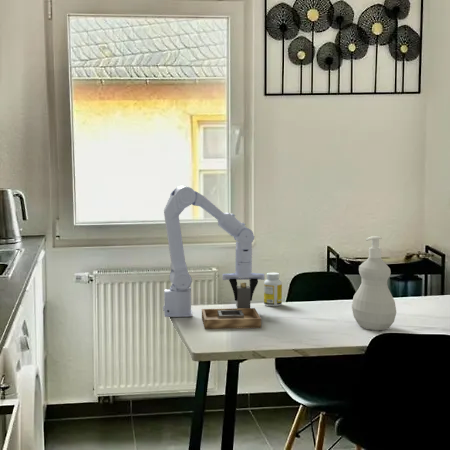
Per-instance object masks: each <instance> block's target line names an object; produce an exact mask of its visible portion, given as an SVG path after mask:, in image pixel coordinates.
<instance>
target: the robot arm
mask: <svg viewBox="0 0 450 450" xmlns="http://www.w3.org/2000/svg"><path fill="white" fill-rule="evenodd" d="M191 205H192V206H195V207H200V208H201V209H203V210H204V211H206V213H208V214H209V215H210V216H211V217H214V218H215V220H216V221H217V225H218V227H220V228H221V229H222V230H223V231H224V232H226V233H227V234H228V235H230V236H231V237H232V238H233V240H235V262H234V263H235V266H234V267H235V271H234V273H233V272H232V273H222V276H221V277H222V280H223V281H226V280H228V281H229V283H230V284H229V285H230V286H231V289H232V292H233V296H234V301H235V302H236V301H237V286H238V280H239V281H240V280H241V281H242V280H246V281H247V280H249V282H248V283H249V287H250V288H251V293H250V302H251V301H253V295H254V292H255V290H256V288H257V285H258V283H259V281H258V280H260V281H265V280H266V278H265V277H266V276H265V273H258V272H252V271H253V256H252V255H253V249H252V248H253V242H254V240H255V235H254V232H253V231H252V229H251V228H250V227H249V228H248V227H247V226H246V223H244V222H241V221H240V220H239V219H238V218H237V217H236V215H235V214H234V213H232V212H231V213H230V212H223V211H221V210H220V209H219V208H218V207H217V206H216V205H215V204H214V203H212V201H210V200H209V199H208V198H207V197H205V196H204V195H203V194H201V193H200V192H198V191H196V190H194V189H193V188H192V187H189V186H186V185H182V184H181V185H179V186H176V187H175V188H174V189H173V190H172V191H171V193H170V196H169V198H168V200H167V203H166V205H165V207H164V210H163V215H164V222H165V223H164V224H165V229H166V237H167V242H168V249H169V250H168V251H169V257H170V273H169V277H168V278H169V282H171V285H170V286H169V289H167V288H166V289H164V290H163V291H164V292H163V293H164V294H163V297H164V299H163V300H164V301H163V303H164V304H163V307H162V309H163V313H164V314H163V315H164V317H165V318H185V317H193V311H192V287H191V285H192V282H193V281H192V280H193V279H192V277H191V275H190V274H189V272H188V265H187V262H186V257H185V249H184V244H183V238H182V237H183V236H182V229H181V221H180V215H181V214H182V212H184V210H185V209H186V208H188V207H190V206H191Z"/></svg>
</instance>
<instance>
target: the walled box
mask: <svg viewBox="0 0 450 450" xmlns="http://www.w3.org/2000/svg"><path fill="white" fill-rule="evenodd" d="M217 310H242V312H243V314H244V319H218V318H217ZM201 320H202V324H203V328H204V330H217V329H218V330H221V329H222V330H224V329H225V330H227V329H230V330H232V329H261V328H262V318H261V316H260V315H259V313H258V311H257V310H256V308H255V307H252V308H251V307H250V308H237V307H236V308H234V307H233V308H202V309H201Z"/></svg>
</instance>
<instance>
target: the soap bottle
mask: <svg viewBox="0 0 450 450" xmlns="http://www.w3.org/2000/svg"><path fill="white" fill-rule="evenodd" d="M381 239H382V237H381V236H379V235H371V236H369V237H366V238H365V241H371V246H370V247H369V246H368V258H367V259H366V260H365V261H363V262H362V263H361V264H360V265H358V273H359V275H360V279H361V283H360V285H359V288H358V289H356V292H355V293H354V295H353V298H352V303H351V309H352V315H353V318H354V319H355V322H356V323H357V325H358V326H360V328H361V327H362V328H363V329H366V330H371V331H384V330H388V329H390V328H391V326H392V325H393V324H394V323H395V320H396V315H397V308H396V307H397V306H396V301H395V299H394V297H393V294H392V293H391V290H390V289H389V286H388V280H389V279H390V277H391V273H392V272H391V268H390V267H389V266H388V264H387V263H386V262H385V261H384V260H383V259H382V247H380V240H381Z"/></svg>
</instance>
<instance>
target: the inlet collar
mask: <svg viewBox="0 0 450 450" xmlns="http://www.w3.org/2000/svg"><path fill="white" fill-rule="evenodd" d="M217 318H218V319H244V314H243V312H242V310H217Z"/></svg>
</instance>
